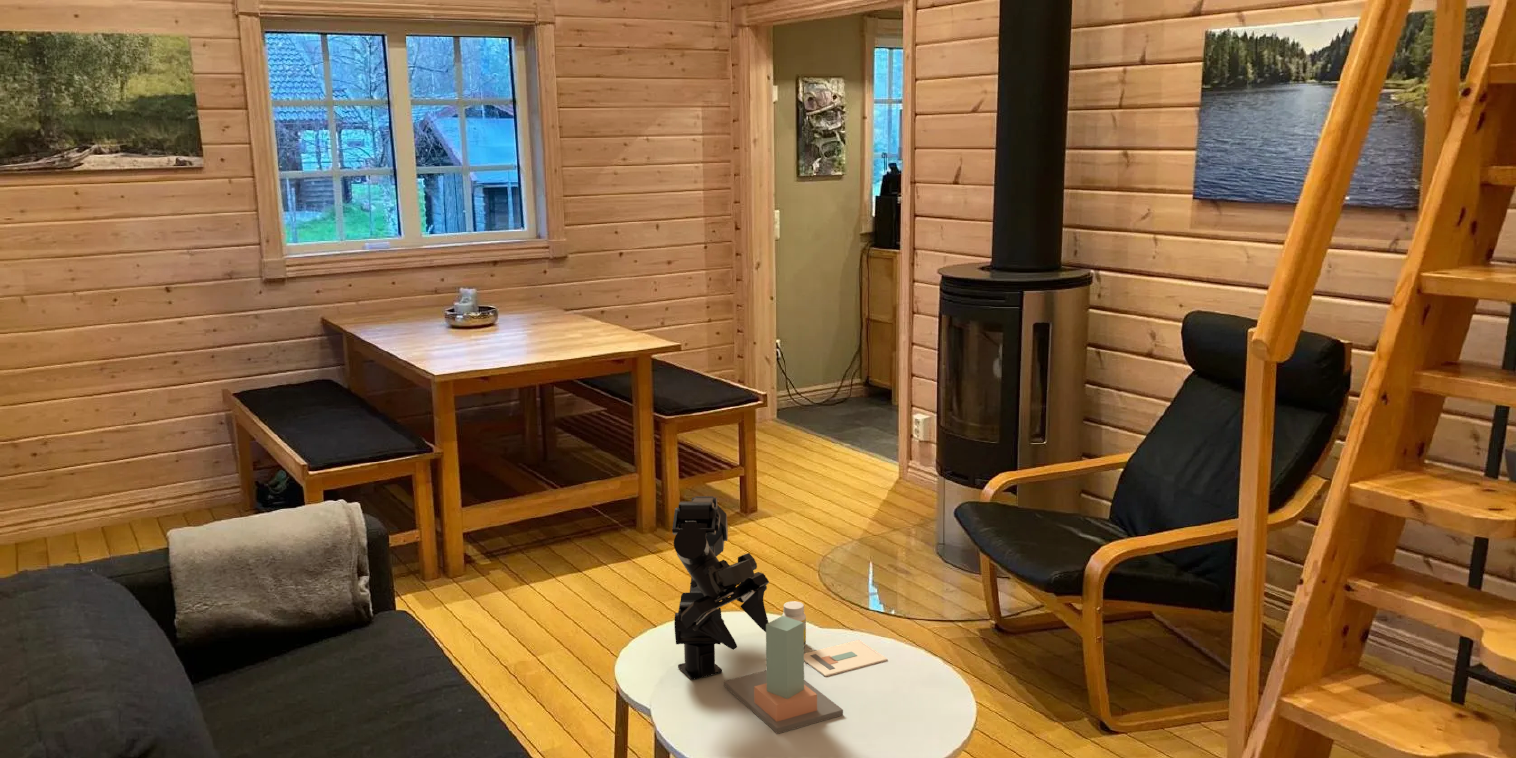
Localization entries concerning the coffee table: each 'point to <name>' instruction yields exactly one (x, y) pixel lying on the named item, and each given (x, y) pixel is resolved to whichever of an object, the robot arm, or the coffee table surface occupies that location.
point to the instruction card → (843, 658)
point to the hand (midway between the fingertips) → (752, 639)
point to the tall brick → (785, 656)
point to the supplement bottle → (795, 613)
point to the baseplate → (788, 724)
